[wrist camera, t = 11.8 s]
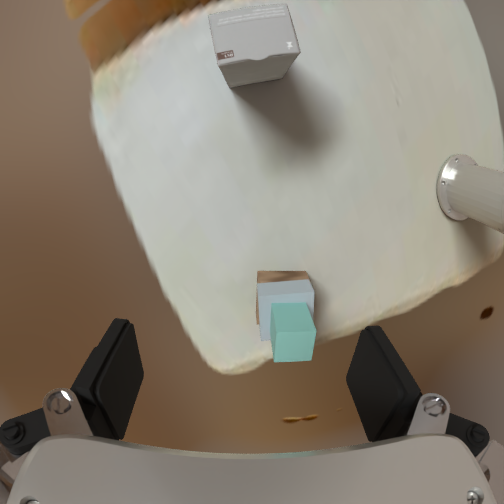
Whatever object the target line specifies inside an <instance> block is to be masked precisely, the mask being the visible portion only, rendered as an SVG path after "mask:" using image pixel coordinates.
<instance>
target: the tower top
mask: <svg viewBox="0 0 504 504" xmlns="http://www.w3.org/2000/svg"><path fill="white" fill-rule="evenodd" d="M257 294H258V309H259V325H260V336H261V341H267V340H271V337H270V319H271V303H301V302H306V304H307V307H308V309H309V312H310V315H311V317H312V320H313V313H314V290H313V287H312V285H311V283H310V281H309V279H305V280H293V281H281V282H268V283H257Z"/></svg>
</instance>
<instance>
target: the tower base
mask: <svg viewBox="0 0 504 504" xmlns="http://www.w3.org/2000/svg"><path fill="white" fill-rule="evenodd" d="M305 279H309V277H308V275H307V273H306V271H258V273H257V283H268V282H281V281H293V280H305ZM309 281H310V279H309ZM256 318H257V324H259V309H258V294H257V300H256Z"/></svg>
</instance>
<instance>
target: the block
mask: <svg viewBox="0 0 504 504" xmlns="http://www.w3.org/2000/svg"><path fill="white" fill-rule="evenodd" d="M270 337H271V344H272V351H273V358H274V362H291V361H308V360H311V359H312V354H313V348H314V342H315V337H316V328H315V326H314V323H313V320H312V317H311V315H310V312H309V309H308V307H307V304H306V302H301V303H271V319H270Z"/></svg>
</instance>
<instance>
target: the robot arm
mask: <svg viewBox="0 0 504 504" xmlns="http://www.w3.org/2000/svg"><path fill="white" fill-rule="evenodd" d="M437 195H438V200H439V204H440V206H441V208H442V210H443V211H444V213H445V214H446V215H447V216H449V217H450V218H452V219H455V220H465V219H467V218H469V217H470V218H472V219H474V220H476V221H478V222H480V223H482V224H485V225H487V226H489V227H491V228H493V229H495V230H497V231H499V232H501V233H503V234H504V172H502V171H498V170H494V169H490V168H486V167H481V166H478V164H477V163H476V162H475V160H474V159H472V158H471V157H469V156H467V155H463V154H457V155H453V156H452V157H450V158H449V159H448V160H447V161H446V162H445V163H444V165H443V166H442V168H441V170H440V173H439V176H438V182H437ZM143 376H144V371H143V367H142V363H141V358H140V354H139V350H138V345H137V340H136V335H135V330H134V325H133V324H131V323H130V322H129V320H127V319H118V318H115V319H114V320H113V322H112V323H111V325H110V327H109V328H108V330H107V331H106V333H105V335H104V336H103V338H102V340H101V342H100V343H99V345H98V346H97V347H95V348H94V349H93V351H92V352H91V354H90V355H89V357H88V359H87V361H86V362H85V364H84V366H83V368H82V369H81V371H80V373H79V374H78V376H77V378H76V380H75V382H74V383H73V385H72V387H71V389H70V390H69V389H66V388H58V389H54V390H52V391H50V392H49V393H48V394H47V395H46V396H45V398H44V400H43V408H40V409H38V410H35V411H32V412H30V413H27V414H24V415H21V416H18V417H15V418H12V419H9V420H7V421H5V422H4V423H3V424H2V425H1V427H0V504H504V447H503V446H502V445H500V444H499V443H498V442H496V441H495V440H492V441H489V433H488V431H487V430H486V428H484V427H483V426H482V425H480V424H477V423H475V422H472V421H470V420H467V419H464V418H462V417H459V416H456V415H454V414H451V413H450V406H449V403H448V402H447V400H446V399H445V398H443V397H442V396H440V395H438V394H434V393H428V394H425V395H422V393H421V392H420V391H421V390H420V388H419V387H418V385H417V383H416V382H415V380H414V379H413V377H412V375H411V374H410V372H409V370H408V369H407V367H406V366H405V364H404V362H403V361H402V359H401V358H400V356H399V354H398V353H397V351H396V350H395V348H394V347H393V345H392V344H391V342H390V340H389V339H388V337H387V336H386V334H385V333H384V331H383V330H382V328H381V327H380V326H367V327H366V328H365V329H364V330H362V331H361V333H360V337H359V340H358V343H357V346H356V349H355V352H354V355H353V358H352V361H351V364H350V367H349V370H348V373H347V376H346V381H347V385H348V387H349V390H350V392H351V395H352V397H353V400H354V403H355V406H356V408H357V411H358V414H359V416H360V419H361V422H362V424H363V427H364V430H365V433H366V435H367V438H368V440H369V441H370V442H371V441H372V442H371V443H365V444H360V445H353V446H347V447H341V448H333V449H325V450H316V451H307V452H293V453H275V454H227V453H226V454H225V453H207V452H194V451H184V450H175V449H167V448H160V447H154V446H147V445H141V444H135V443H129V442H124V441H119V439H121V440H122V439H123V438H124V435H125V432H126V429H127V425H128V422H129V419H130V416H131V413H132V410H133V407H134V404H135V401H136V398H137V395H138V392H139V389H140V386H141V383H142V380H143Z"/></svg>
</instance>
